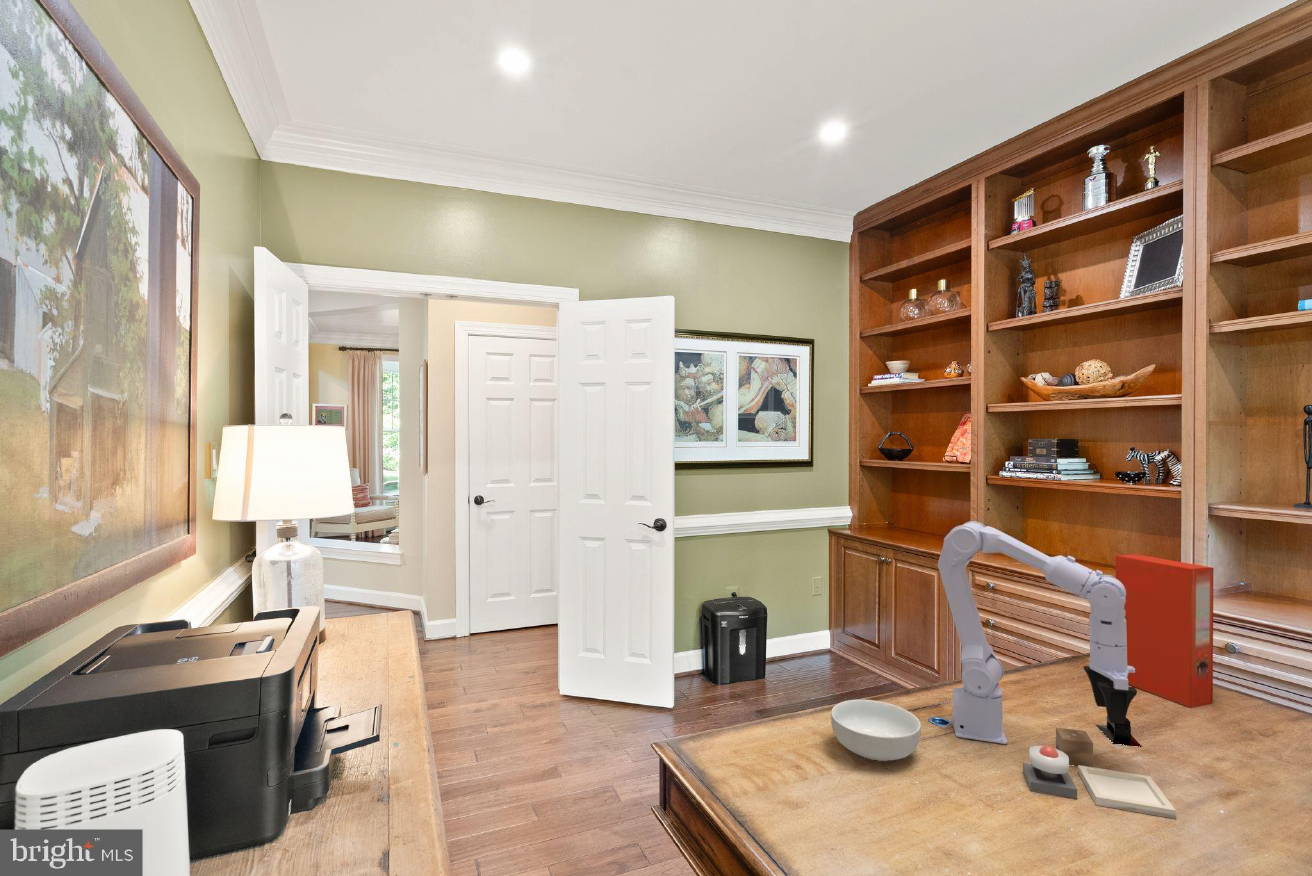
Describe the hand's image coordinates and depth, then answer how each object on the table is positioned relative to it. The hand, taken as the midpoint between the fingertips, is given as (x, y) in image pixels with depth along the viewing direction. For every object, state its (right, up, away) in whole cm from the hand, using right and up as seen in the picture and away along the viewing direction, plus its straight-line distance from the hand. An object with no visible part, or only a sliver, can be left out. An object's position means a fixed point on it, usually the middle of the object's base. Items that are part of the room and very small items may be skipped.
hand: (1109, 714), depth 118 cm
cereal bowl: (-42, -10, +6) cm, 44 cm away
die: (-5, -10, +3) cm, 12 cm away
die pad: (-4, -10, -9) cm, 14 cm away
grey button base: (-15, -10, -6) cm, 19 cm away
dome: (-15, -8, -6) cm, 18 cm away
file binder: (+39, -10, +36) cm, 53 cm away
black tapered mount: (+11, -11, +13) cm, 20 cm away
